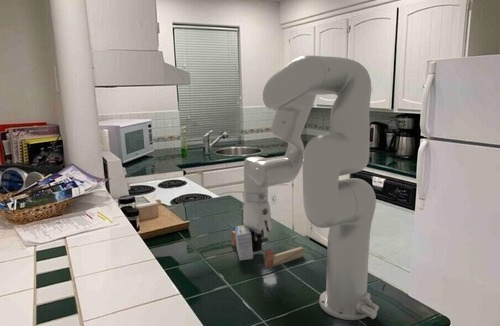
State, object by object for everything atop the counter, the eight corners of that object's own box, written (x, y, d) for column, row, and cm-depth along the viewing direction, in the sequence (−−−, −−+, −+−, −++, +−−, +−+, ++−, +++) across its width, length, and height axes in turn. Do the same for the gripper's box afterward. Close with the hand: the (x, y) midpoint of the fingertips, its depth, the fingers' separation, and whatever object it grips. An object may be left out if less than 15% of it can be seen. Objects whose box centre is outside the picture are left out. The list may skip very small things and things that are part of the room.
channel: (303, 257, 117) (303, 242, 116) (268, 268, 109) (268, 252, 108) (264, 236, 134) (264, 223, 133) (231, 245, 126) (231, 231, 125)
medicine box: (253, 259, 115) (251, 233, 113) (239, 261, 114) (237, 234, 112) (249, 249, 122) (248, 224, 121) (236, 250, 122) (234, 226, 120)
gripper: (279, 199, 112) (279, 255, 115) (252, 189, 124) (253, 240, 127) (259, 203, 108) (259, 261, 111) (233, 192, 120) (234, 245, 123)
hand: (256, 250), depth 119 cm, fingers closed
